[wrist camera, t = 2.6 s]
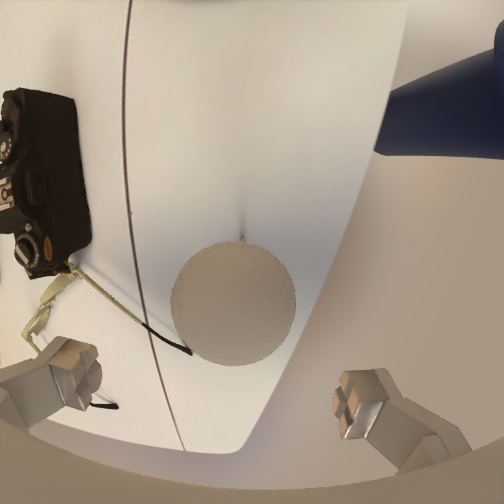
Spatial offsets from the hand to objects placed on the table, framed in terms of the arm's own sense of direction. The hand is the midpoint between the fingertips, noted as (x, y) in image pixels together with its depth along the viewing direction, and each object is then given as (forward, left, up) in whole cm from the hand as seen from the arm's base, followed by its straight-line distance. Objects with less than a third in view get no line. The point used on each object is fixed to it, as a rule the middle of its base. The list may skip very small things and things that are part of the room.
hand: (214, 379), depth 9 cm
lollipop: (0, 0, -18) cm, 18 cm away
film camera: (+20, -4, -18) cm, 27 cm away
